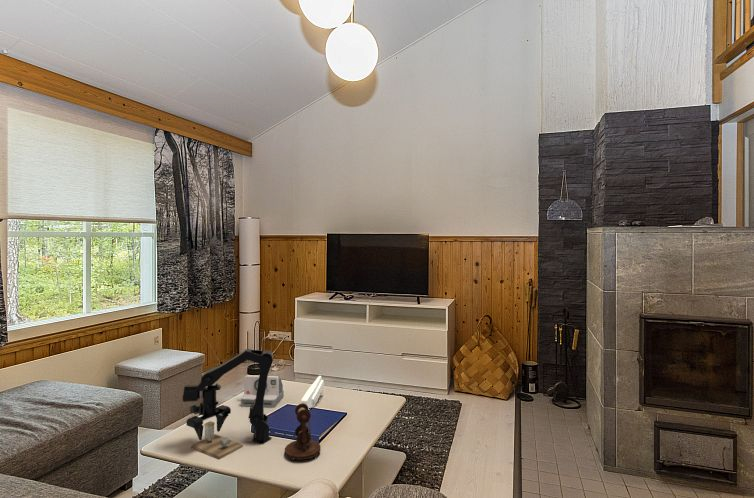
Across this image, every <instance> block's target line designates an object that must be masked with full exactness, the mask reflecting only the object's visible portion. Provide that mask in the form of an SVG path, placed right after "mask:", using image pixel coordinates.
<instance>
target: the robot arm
mask: <svg viewBox="0 0 754 498" xmlns="http://www.w3.org/2000/svg"><path fill="white" fill-rule="evenodd" d="M246 361H250V362H253V363H256V364H259V375H258V376H259V382H258V388H257V394H256V400H255V403H254V405H252V404H251V406H250V407H249V413H248V418H247V419H248V420H249V423H250V425H252V426H253V438H251V442H254V443H257V444H259V445H263V444H264V443H266V442H269V441H270V440H272V436H270V425H269V416H268V415H267V414H266V413H265V408H264V404H263V401H264V395H265V389H266V383H267V377H268V375H269V373H270V370H271V367H272V364H273V361H274V353H273V351H271V350H269V349H265V350H259V349H251V348H246V349H244V350H243V351H242V352H240V353H239V354H237V355H235V356H233V357H232V358H230V359H228V360H227V361H225V362H224V363H222V364H220V365H218V366H214V367H212V368H209V369H207V370H206V371H204V372H203V375H202V376H201V379H200V381H199V383H198V384H193V385H190V384H187V385H185V386H184V388H183V395H182V402H183V403H189V402H192V403H193V402H198V401H199V399H201V402H200V403H199V404H198V405H196V404H194V405H191V406H190V407H189V413H190V414H191V415H193V414H194V416H191V417H189V418H187V419H186V426H188V427H190V428H192V429H194V431H195V433H196V436H197V438H198V440H199V441H202V440H203V433H204V428H205V426H204V425H203V424H204V421H206V420H208V419H211V418H214V417H215V418H216V432H218V433H219V432H220V431H221V429H222V427H223V424H224V422H225V421H226V419H227V418H228V417H229V415H230V414H231V412H232V411H231V407H230V406H227V405H224V404H221V405H219V401H217V391H220V390H221V388H222V385H220V384H219V383H218V381H220V378H221V377H223V376H224V375H225V374H226V373H229V372H230V371H231V370H233V369H234V368H235V369H236V368H237V367H239V366H240V365H242V364H243V363H245V362H246ZM216 382H217V383H216ZM217 405H219V406H217ZM197 414H198V415H199V416H200V417H199V416H196V415H197Z"/></svg>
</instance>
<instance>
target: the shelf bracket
mask: <svg viewBox="0 0 754 498" xmlns="http://www.w3.org/2000/svg"><path fill="white" fill-rule="evenodd" d="M322 378H323V377H322V375H318V376H317V378H316V379H315V380H314V381H313V383H312V384H311V385H310V387H309V388H308V389H307V391H306V392H305V394H304V395H303V396H302V398H301V400H300V402H301V403H300V404H302V403H303V404H306V405H307V406H308V409H309V408H310V409H311V408H314V407H316V404H317V402H318V400H319V399H320V397H323V396H324V392H323V391H324V387H325V380H324V379H322ZM310 409H309V410H310Z"/></svg>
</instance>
